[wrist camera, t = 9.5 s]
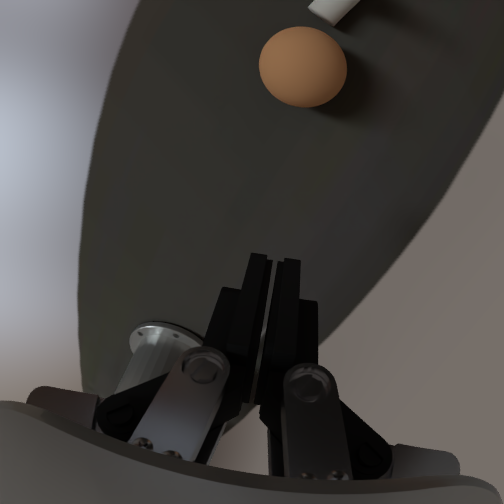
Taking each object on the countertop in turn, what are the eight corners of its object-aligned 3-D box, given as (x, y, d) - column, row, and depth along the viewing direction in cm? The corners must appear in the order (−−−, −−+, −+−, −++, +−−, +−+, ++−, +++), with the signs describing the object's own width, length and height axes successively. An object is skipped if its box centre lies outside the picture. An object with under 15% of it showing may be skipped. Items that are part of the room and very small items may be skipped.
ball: (346, 14, 14) (333, 35, 19) (247, 22, 15) (257, 42, 20) (361, 103, 16) (344, 105, 22) (263, 112, 17) (268, 111, 23)
